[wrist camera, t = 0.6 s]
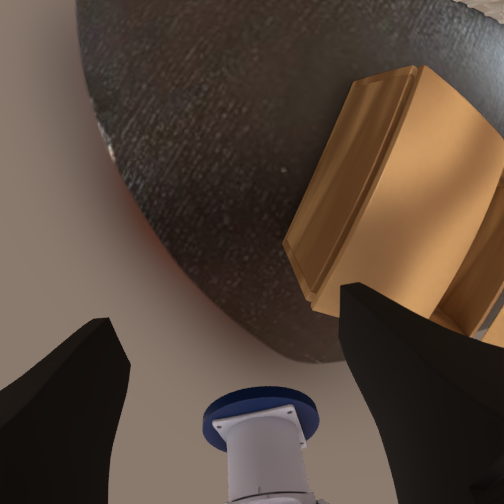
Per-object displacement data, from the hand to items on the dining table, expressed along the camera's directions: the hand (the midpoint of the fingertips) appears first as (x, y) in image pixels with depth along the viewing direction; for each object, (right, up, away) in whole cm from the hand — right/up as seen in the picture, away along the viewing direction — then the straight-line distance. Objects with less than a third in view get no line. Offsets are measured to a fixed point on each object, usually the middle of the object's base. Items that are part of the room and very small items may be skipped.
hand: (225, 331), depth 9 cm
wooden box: (+11, +6, +9) cm, 15 cm away
